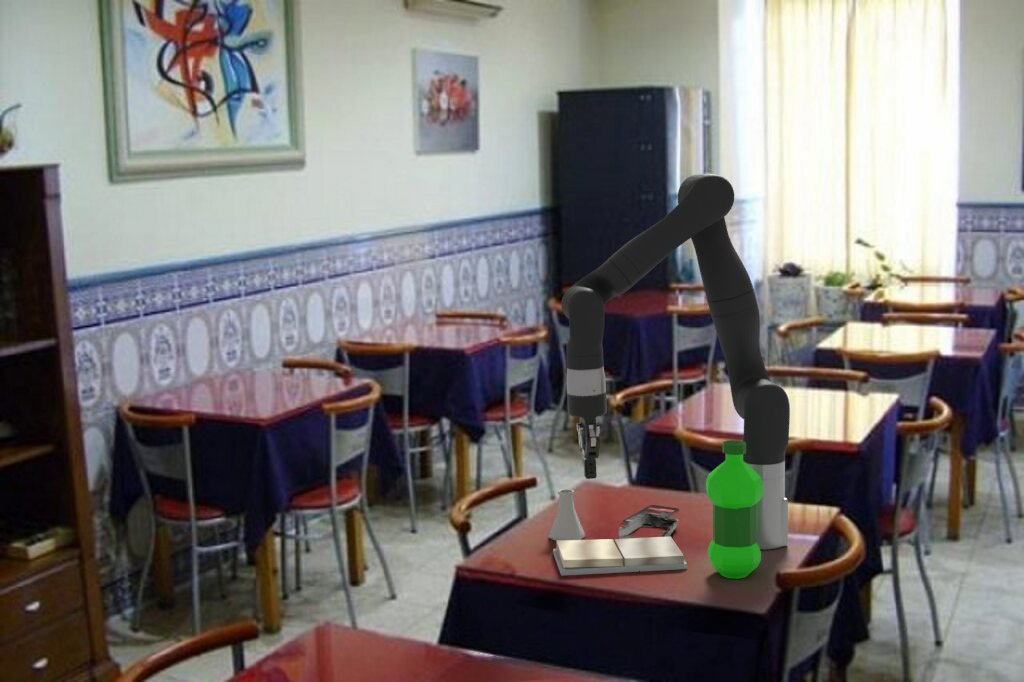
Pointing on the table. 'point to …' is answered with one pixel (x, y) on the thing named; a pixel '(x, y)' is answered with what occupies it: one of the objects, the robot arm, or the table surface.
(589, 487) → the table surface
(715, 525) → the plastic bottle
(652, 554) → the laid plank
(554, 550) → the underlay board
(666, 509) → the smartphone
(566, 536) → the flask
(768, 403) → the robot arm
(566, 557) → the cream wavy square sheet
